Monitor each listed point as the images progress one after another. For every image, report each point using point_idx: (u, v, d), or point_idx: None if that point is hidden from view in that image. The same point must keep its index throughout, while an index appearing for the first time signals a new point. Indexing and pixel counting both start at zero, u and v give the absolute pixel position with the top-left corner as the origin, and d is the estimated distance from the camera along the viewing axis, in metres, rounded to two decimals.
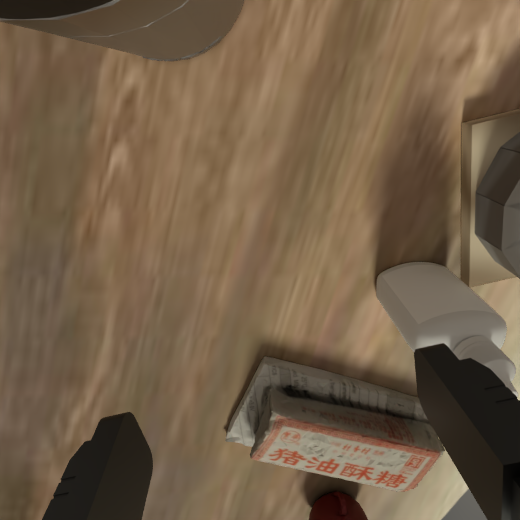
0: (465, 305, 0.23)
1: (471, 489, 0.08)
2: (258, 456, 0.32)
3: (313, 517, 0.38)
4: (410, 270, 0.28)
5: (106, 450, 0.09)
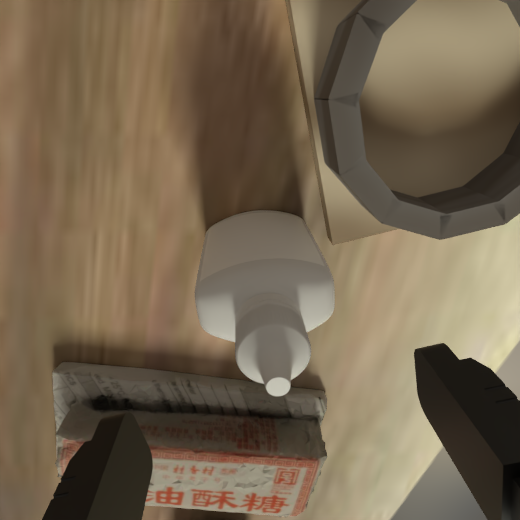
0: (275, 253, 0.15)
1: (471, 489, 0.08)
2: None
3: None
4: (241, 218, 0.20)
5: (106, 450, 0.09)
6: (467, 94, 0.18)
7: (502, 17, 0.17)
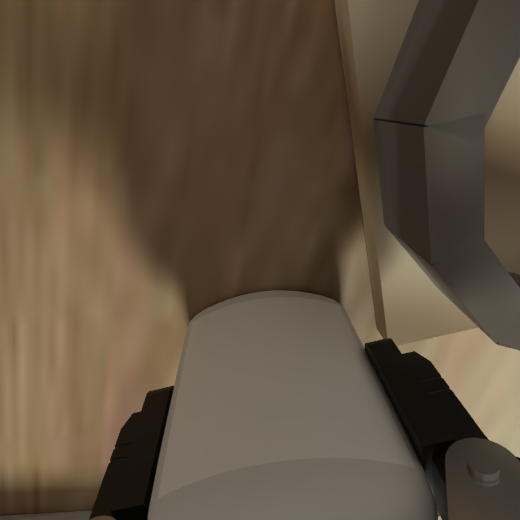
0: (314, 433, 0.08)
1: None
2: None
3: None
4: (245, 311, 0.12)
5: (158, 418, 0.10)
6: None
7: None
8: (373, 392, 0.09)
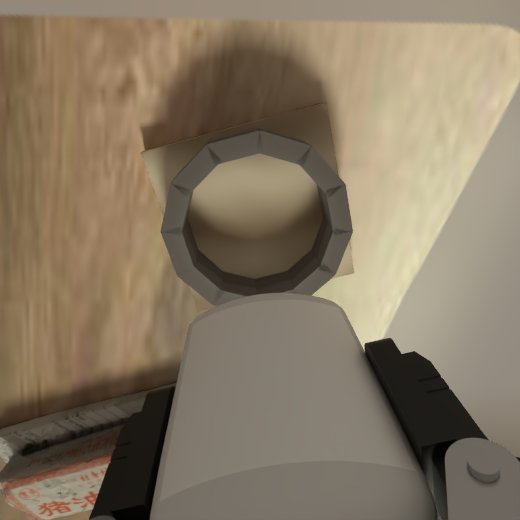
0: (314, 436, 0.08)
1: None
2: (37, 518, 0.33)
3: None
4: (245, 313, 0.12)
5: (158, 418, 0.10)
6: (277, 212, 0.26)
7: (291, 165, 0.25)
8: (373, 395, 0.09)
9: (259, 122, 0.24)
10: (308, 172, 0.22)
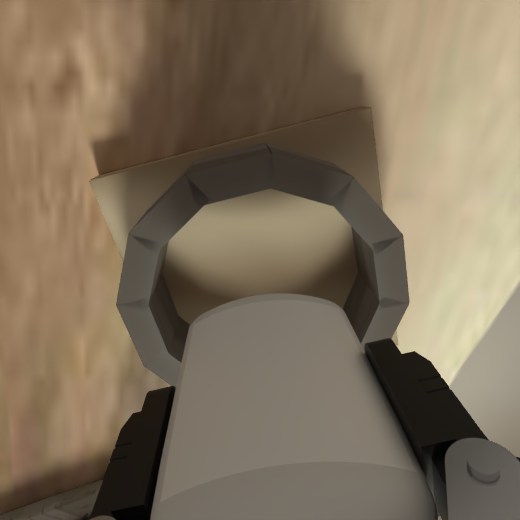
0: (315, 437, 0.08)
1: None
2: None
3: None
4: (246, 314, 0.12)
5: (158, 418, 0.10)
6: (292, 265, 0.18)
7: None
8: (374, 395, 0.09)
9: (268, 136, 0.16)
10: (346, 217, 0.14)
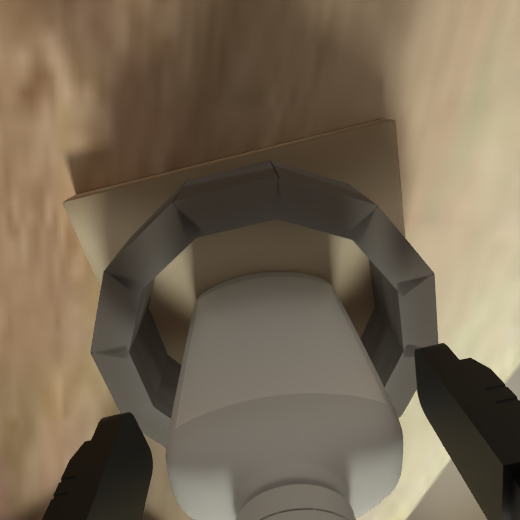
0: (303, 377, 0.09)
1: (471, 489, 0.08)
2: None
3: None
4: (245, 288, 0.14)
5: (106, 450, 0.09)
6: None
7: None
8: (354, 349, 0.11)
9: (274, 152, 0.13)
10: (367, 253, 0.12)
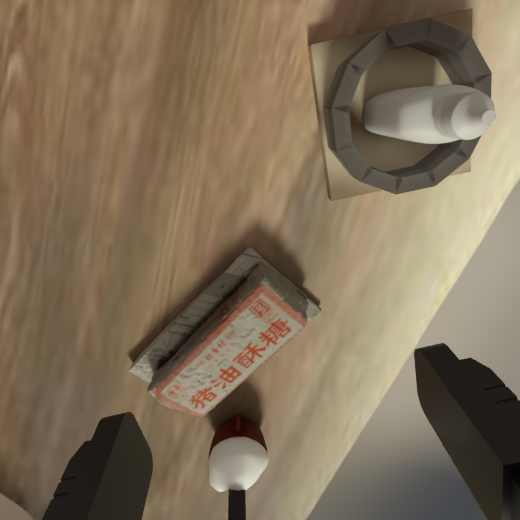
0: None
1: (471, 489, 0.08)
2: (195, 414, 0.38)
3: (213, 438, 0.41)
4: (396, 89, 0.28)
5: (106, 450, 0.09)
6: None
7: (434, 65, 0.29)
8: None
9: None
10: (463, 59, 0.26)
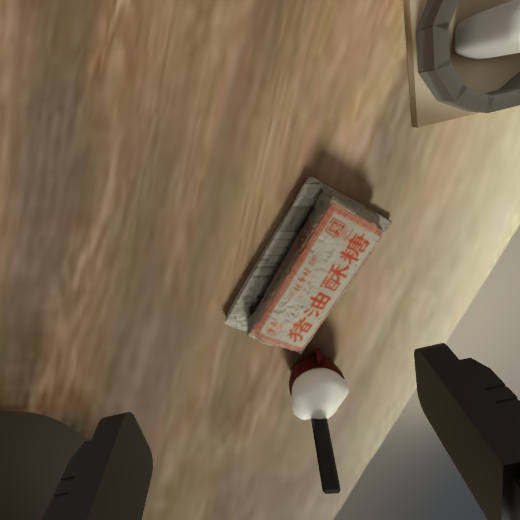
0: None
1: (471, 489, 0.08)
2: (295, 348, 0.40)
3: (293, 372, 0.43)
4: None
5: (106, 450, 0.09)
6: None
7: None
8: None
9: None
10: None
